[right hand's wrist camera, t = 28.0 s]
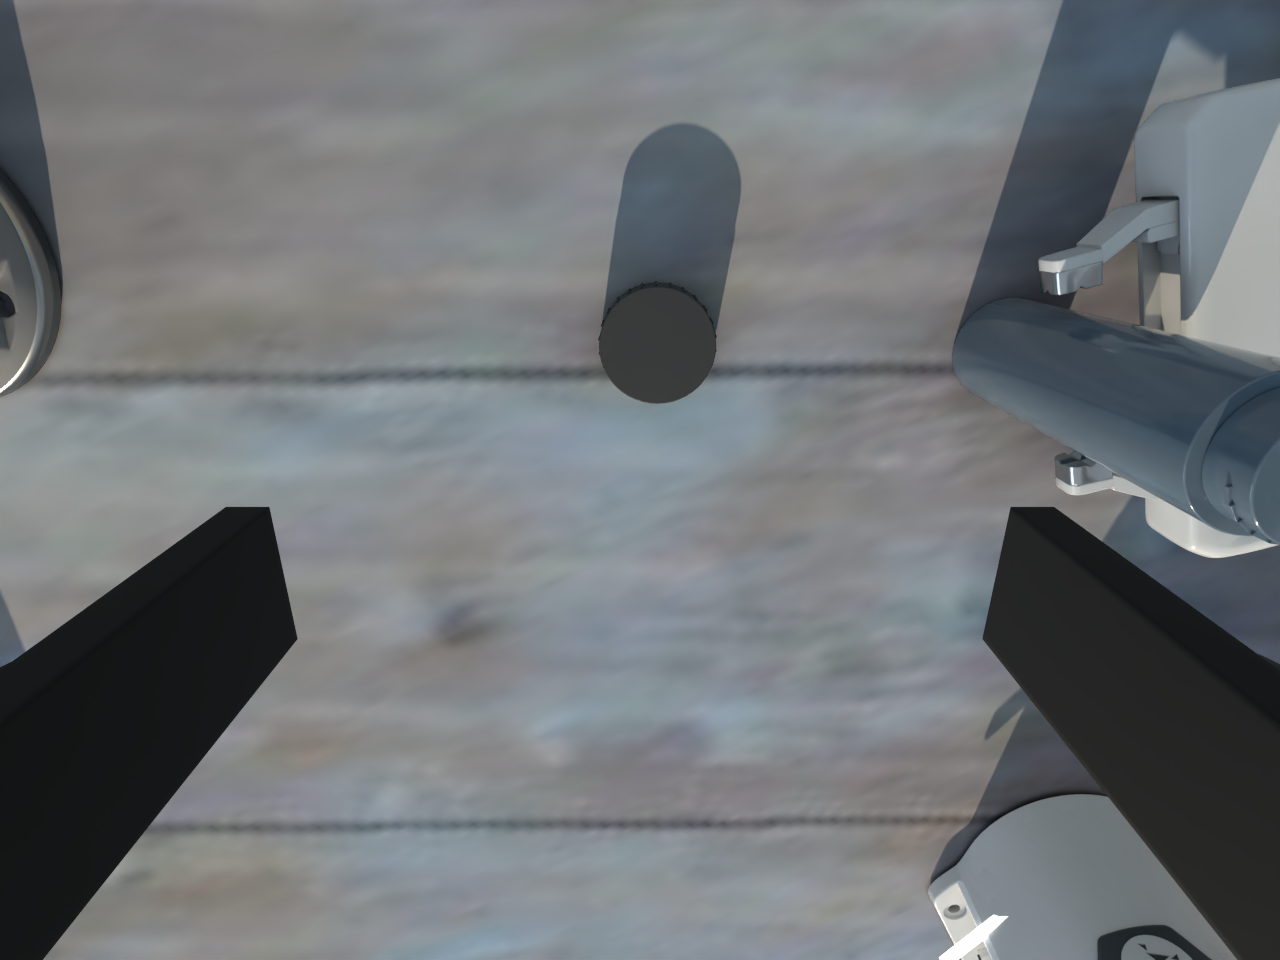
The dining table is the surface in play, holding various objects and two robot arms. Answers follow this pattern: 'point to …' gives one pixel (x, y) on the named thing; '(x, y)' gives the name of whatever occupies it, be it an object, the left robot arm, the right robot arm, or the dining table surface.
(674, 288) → the lid
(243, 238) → the dining table surface
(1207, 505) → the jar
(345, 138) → the dining table surface
